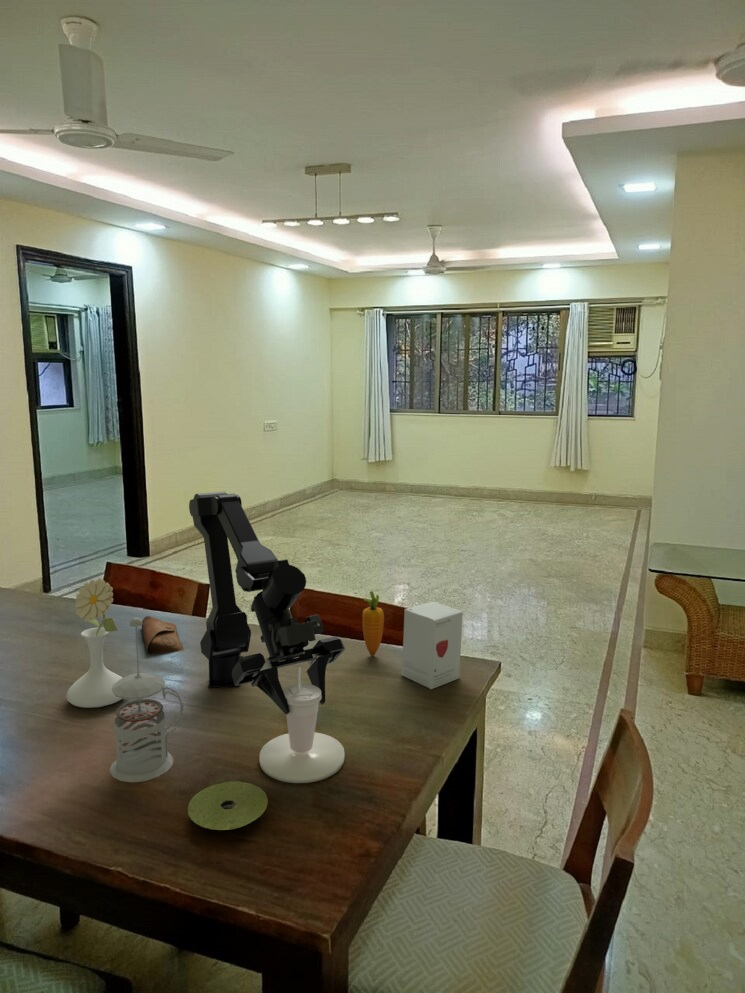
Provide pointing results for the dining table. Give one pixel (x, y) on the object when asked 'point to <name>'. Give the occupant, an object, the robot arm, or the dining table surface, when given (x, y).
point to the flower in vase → (95, 648)
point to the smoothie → (302, 714)
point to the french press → (141, 726)
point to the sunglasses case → (160, 636)
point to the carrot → (373, 624)
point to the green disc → (227, 805)
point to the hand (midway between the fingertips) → (305, 708)
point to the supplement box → (432, 644)
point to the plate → (302, 759)
